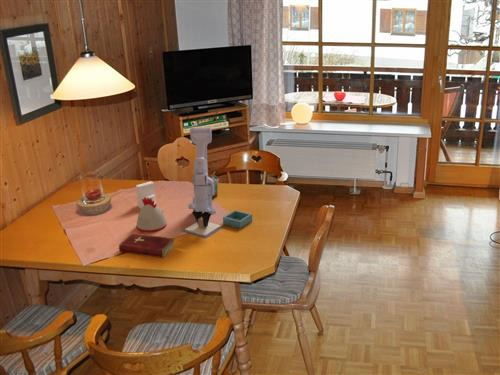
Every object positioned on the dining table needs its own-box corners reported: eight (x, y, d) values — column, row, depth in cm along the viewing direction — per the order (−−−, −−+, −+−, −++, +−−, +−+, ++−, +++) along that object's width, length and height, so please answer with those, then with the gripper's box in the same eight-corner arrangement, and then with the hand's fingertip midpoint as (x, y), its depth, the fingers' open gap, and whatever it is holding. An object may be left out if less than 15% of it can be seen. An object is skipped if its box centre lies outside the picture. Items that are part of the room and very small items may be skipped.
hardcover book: (163, 259, 240) (162, 250, 238) (119, 252, 246) (118, 244, 245) (175, 246, 251) (174, 237, 249) (133, 240, 257) (132, 232, 255)
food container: (216, 200, 297) (215, 183, 294) (205, 200, 299) (204, 182, 295) (222, 192, 309) (221, 175, 305) (211, 191, 310) (210, 174, 306)
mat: (180, 232, 263) (180, 231, 263) (200, 220, 275) (200, 219, 274) (206, 239, 255) (205, 238, 255) (225, 227, 267) (225, 226, 267)
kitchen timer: (150, 218, 278) (147, 190, 273) (172, 224, 271) (170, 195, 266) (131, 229, 267) (127, 200, 261) (153, 235, 260) (151, 205, 255)
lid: (184, 230, 263) (184, 220, 261) (200, 221, 272) (200, 211, 271) (205, 236, 257) (204, 226, 255) (221, 226, 266) (220, 216, 264)
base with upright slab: (143, 210, 288) (141, 188, 283) (135, 205, 294) (132, 183, 290) (159, 205, 293) (157, 184, 288) (150, 201, 299) (148, 179, 295)
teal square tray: (223, 225, 269) (222, 217, 268) (235, 217, 277) (234, 210, 275) (240, 229, 264) (240, 221, 262) (252, 221, 272) (252, 214, 270)
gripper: (183, 198, 260) (185, 225, 265) (208, 204, 252) (210, 232, 257) (193, 193, 265) (194, 219, 270) (218, 199, 258) (219, 226, 263)
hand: (202, 225), depth 264 cm, fingers closed on lid, 3 cm apart
